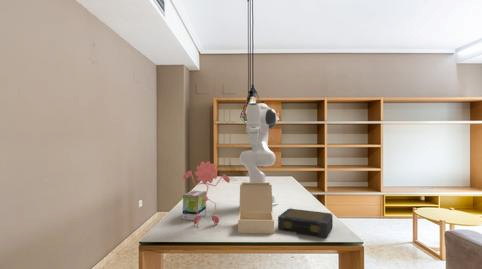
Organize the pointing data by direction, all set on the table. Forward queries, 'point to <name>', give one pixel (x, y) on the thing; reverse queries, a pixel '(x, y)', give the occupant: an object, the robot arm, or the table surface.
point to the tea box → (193, 204)
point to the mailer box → (255, 222)
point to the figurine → (206, 175)
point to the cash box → (306, 222)
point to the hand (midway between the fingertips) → (253, 152)
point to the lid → (255, 197)
